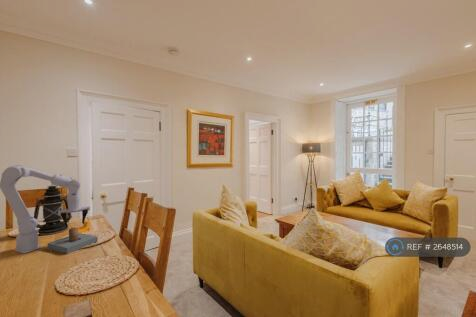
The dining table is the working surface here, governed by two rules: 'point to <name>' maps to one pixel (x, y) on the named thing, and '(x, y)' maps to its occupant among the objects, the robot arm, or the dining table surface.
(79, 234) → the hole block
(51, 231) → the lantern
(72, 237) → the peg
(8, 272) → the dining table surface
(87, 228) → the pipe clamp
